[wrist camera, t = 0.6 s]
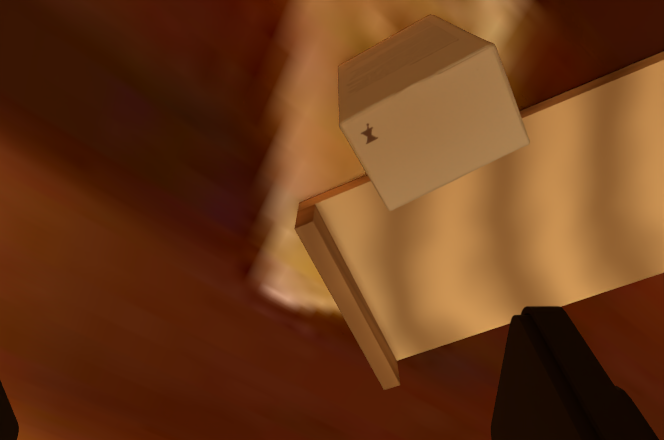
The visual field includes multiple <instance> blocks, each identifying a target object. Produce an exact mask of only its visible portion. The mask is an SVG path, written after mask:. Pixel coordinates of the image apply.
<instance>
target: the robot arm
mask: <svg viewBox="0 0 664 440" xmlns="http://www.w3.org/2000/svg"><path fill="white" fill-rule="evenodd" d="M18 432H19V426H18V422H17V420H16V417H15V415H14V412H13V410H12V408H11V405H10V403H9V400H8V398H7V396H6V393H5V391H4V388H3V386H2V383H1V381H0V440H17V437H18ZM491 438H492V440H659V439H658V437H657V436H656V435H655V433H654V432H653V430H652V429H651V427H650V426H649V424H648V423H647V421H646V420H645V418H644V417H643V415H642V414H641V413H640V411H639V410H638V408H637V407H636V405H635V404H634V402H633V401H632V399H631V398H630V397H629V396H628V395H627V393H626V392H625V391H624V390H622V389H621V388H619V387H617V386H614V384H613V383H612V381H611V380H610V378H609V377H608V375H607V374H606V372H605V371H604V369H603V368H602V366H601V365H600V363H599V362H598V360H597V359H596V357H595V356H594V354H593V353H592V351H591V350H590V348H589V347H588V345H587V344H586V342H585V341H584V339H583V338H582V336H581V334H580V333H579V331H578V330H577V328H576V327H575V325H574V324H573V322H572V321H571V319H570V318H569V316H568V315H567V313H566V312H565V311H564V310H563V308H562V307H559V306H526V307H524V308H523V310H522V312H521V315H513V317H512V318H511V322H510V327H509V332H508V337H507V343H506V348H505V354H504V359H503V364H502V370H501V375H500V380H499V386H498V391H497V396H496V402H495V407H494V412H493V418H492V423H491Z"/></svg>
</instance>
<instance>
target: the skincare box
mask: <svg viewBox="0 0 664 440" xmlns="http://www.w3.org/2000/svg"><path fill="white" fill-rule="evenodd" d="M338 93H339V127H340V129H341V130H342V132H343V134H344V135H345V137H346V139H347V140H348V142H349V144H350V145H351V147H352V149H353V151H354V152H355V154H356V156H357V157H358V159H359V161H360V163H361V164H362V166H363V168H364V170H365V171H366V173H367V175H368V177H369V178H370V180H371V182H372V183H373V185H374V187H375V189H376V190H377V192H378V194H379V196H380V197H381V199H382V201H383V203H384V204H385V206H386V208H387V209H388V210H389V211H392V210H394V209H396V208H398V207H400V206H403V205H405V204H407V203H409V202H411V201H413V200H415V199H417V198H419V197H421V196H424V195H426V194H428V193H430V192H432V191H434V190H436V189H438V188H440V187H442V186H444V185H446V184H448V183H450V182H452V181H454V180H456V179H458V178H460V177H462V176H464V175H466V174H468V173H470V172H472V171H474V170H477V169H479V168H481V167H483V166H485V165H487V164H489V163H491V162H493V161H495V160H497V159H499V158H501V157H503V156H505V155H507V154H510V153H512V152H514V151H516V150H518V149H520V148H522V147H525V146H527V145H529V143H530V140H529V137H528V135H527V132H526V129H525V126H524V123H523V120H522V118H521V115H520V112H519V109H518V106H517V104H516V101H515V98H514V95H513V92H512V90H511V87H510V84H509V81H508V78H507V76H506V73H505V70H504V68H503V65H502V62H501V59H500V57H499V54H498V51H497V49H496V46H495V44H493V43H491V42H488V41H486V40H484V39H481V38H479V37H477V36H475V35H473V34H471V33H468V32H467V31H465V30H463V29H461V28H459V27H456V26H454V25H452V24H450V23H448V22H446V21H444V20H442V19H440V18H438V17H436V16H434V15H429V16H427V17H425V18H423V19H421V20H420V21H418V22H416V23H414V24H412V25H411V26H409V27H407V28H405V29H404V30H402V31H400V32H398V33H396V34H395V35H393V36H391V37H389V38H387V39H386V40H384V41H382V42H380V43H378V44H377V45H375V46H373V47H371V48H370V49H368V50H366V51H364V52H362V53H361V54H359V55H357V56H355V57H354V58H352V59H350V60H348V61H347V62H345V63H343V64H341V65H339V66H338Z"/></svg>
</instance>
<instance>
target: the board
mask: <svg viewBox="0 0 664 440" xmlns="http://www.w3.org/2000/svg"><path fill="white" fill-rule="evenodd" d="M519 112H520V115H521V118H522V120H523V123H524V126H525V129H526V132H527V135H528V137H529V140H530V143H529V145H527V146H525V147H522V148H520V149H518V150H516V151H514V152H512V153H510V154H507V155H505V156H503V157H501V158H499V159H497V160H495V161H493V162H491V163H489V164H487V165H485V166H483V167H481V168H479V169H477V170H474V171H472V172H470V173H468V174H466V175H464V176H462V177H460V178H458V179H456V180H454V181H452V182H450V183H448V184H446V185H444V186H442V187H440V188H438V189H436V190H434V191H432V192H430V193H428V194H426V195H424V196H421V197H419V198H417V199H415V200H413V201H411V202H409V203H407V204H405V205H403V206H400V207H398V208H396V209H394V210H392V211H389V210H388V209H387V208H386V206H385V204H384V203H383V201H382V199H381V197H380V196H379V194H378V192H377V190H376V189H375V187H374V185H373V183H372V182H371V180H370V178H369V177H368V175H366V176H363V177H361V178H358V179H356V180H354V181H351V182H349V183H346V184H344V185H342V186H339V187H337V188H334V189H332V190H330V191H327V192H325V193H322V194H320V195H318V196H315V197H313V198H310V199H308V200H306V201H303V202H301V203H299V208H298V213H297V219H296V224H295V230H296V232H297V234H298V236H299V238H300V239H301V241H302V243H303V245H304V247H305V248H306V250H307V252H308V254H309V256H310V257H311V259H312V261H313V263H314V265H315V266H316V268H317V270H318V272H319V274H320V275H321V277H322V279H323V281H324V283H325V284H326V286H327V288H328V290H329V292H330V293H331V295H332V297H333V299H334V301H335V302H336V304H337V306H338V308H339V310H340V311H341V313H342V315H343V317H344V319H345V320H346V322H347V324H348V326H349V328H350V329H351V331H352V333H353V335H354V337H355V338H356V340H357V342H358V344H359V346H360V347H361V349H362V351H363V353H364V355H365V356H366V358H367V360H368V362H369V364H370V365H371V367H372V369H373V371H374V373H375V374H376V376H377V378H378V380H379V382H380V383H381V385H382V387H383V389H384V390H385V389H389V388H392V387H395V386H398V385H400V380H399V373H398V366H397V360H400V359H403V358H406V357H409V356H412V355H415V354H418V353H421V352H424V351H427V350H430V349H433V348H436V347H439V346H442V345H445V344H448V343H452V342H455V341H458V340H461V339H464V338H467V337H470V336H473V335H476V334H479V333H482V332H485V331H488V330H491V329H494V328H497V327H500V326H503V325H506V324H509V323H510V322H511V318H512V317H513V315H521V312H522V310H523V308H524V307H526V306H559V307H560V306H564V305H567V304H570V303H573V302H576V301H579V300H582V299H585V298H588V297H591V296H594V295H597V294H600V293H603V292H606V291H609V290H612V289H615V288H618V287H621V286H624V285H627V284H630V283H633V282H636V281H639V280H642V279H645V278H648V277H651V276H654V275H657V274H660V273H663V272H664V51H663V52H661V53H658V54H656V55H653V56H651V57H649V58H646V59H644V60H641V61H639V62H637V63H634V64H632V65H629V66H627V67H625V68H622V69H620V70H617V71H615V72H613V73H610V74H608V75H606V76H603V77H601V78H598V79H596V80H594V81H591V82H589V83H586V84H584V85H582V86H579V87H577V88H574V89H572V90H570V91H567V92H565V93H562V94H560V95H558V96H555V97H553V98H550V99H548V100H546V101H543V102H541V103H538V104H536V105H534V106H531V107H529V108H526V109H524V110H522V111H519Z"/></svg>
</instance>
